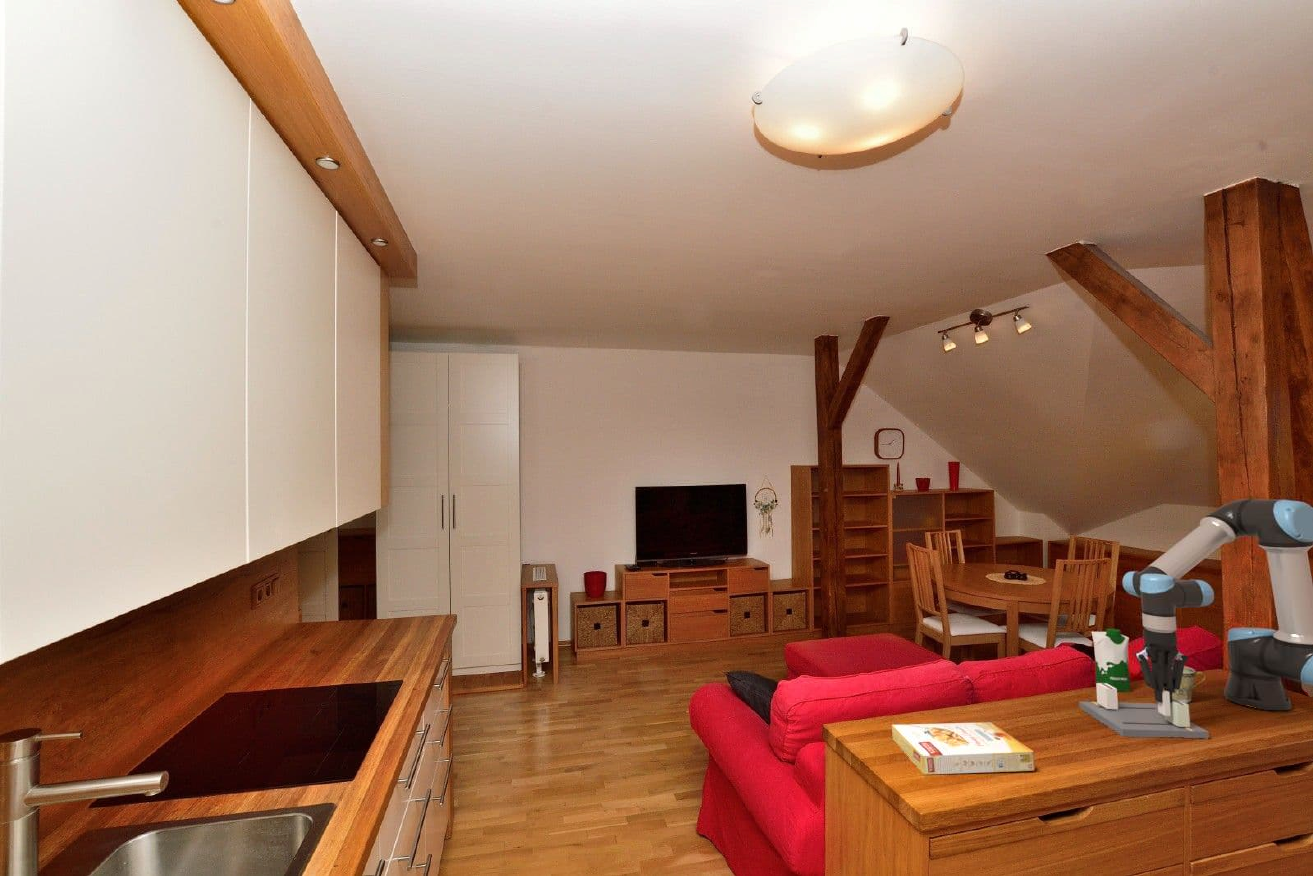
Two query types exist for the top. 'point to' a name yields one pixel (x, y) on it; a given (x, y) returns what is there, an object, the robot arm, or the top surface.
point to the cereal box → (962, 748)
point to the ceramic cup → (1187, 685)
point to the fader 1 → (1107, 696)
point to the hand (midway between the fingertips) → (1164, 713)
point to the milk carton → (1112, 659)
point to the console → (1140, 721)
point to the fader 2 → (1179, 713)
